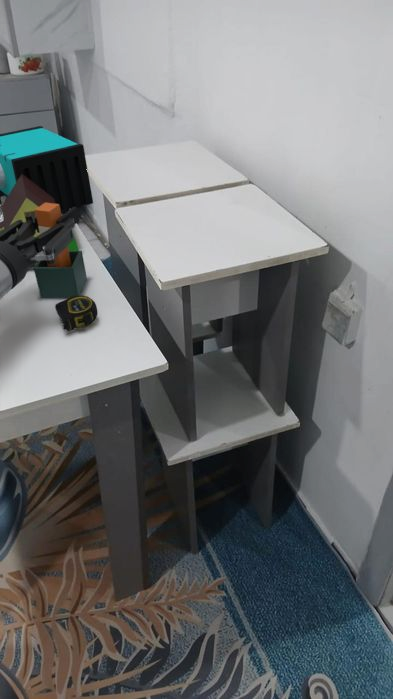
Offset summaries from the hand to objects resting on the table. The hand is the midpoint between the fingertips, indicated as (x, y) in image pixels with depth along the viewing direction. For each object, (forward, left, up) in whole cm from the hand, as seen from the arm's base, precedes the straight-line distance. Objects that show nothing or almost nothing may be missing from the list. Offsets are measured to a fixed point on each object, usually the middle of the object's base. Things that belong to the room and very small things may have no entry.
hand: (65, 212), depth 103 cm
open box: (-1, -5, -14) cm, 15 cm away
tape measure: (+4, -17, -14) cm, 22 cm away
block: (-1, -5, -13) cm, 14 cm away
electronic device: (-22, +36, -13) cm, 44 cm away
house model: (-14, +16, -14) cm, 25 cm away
